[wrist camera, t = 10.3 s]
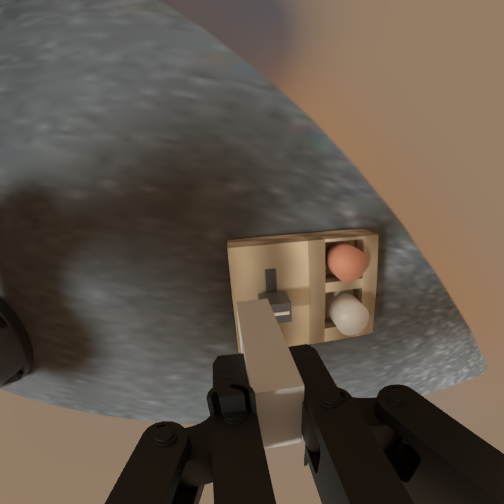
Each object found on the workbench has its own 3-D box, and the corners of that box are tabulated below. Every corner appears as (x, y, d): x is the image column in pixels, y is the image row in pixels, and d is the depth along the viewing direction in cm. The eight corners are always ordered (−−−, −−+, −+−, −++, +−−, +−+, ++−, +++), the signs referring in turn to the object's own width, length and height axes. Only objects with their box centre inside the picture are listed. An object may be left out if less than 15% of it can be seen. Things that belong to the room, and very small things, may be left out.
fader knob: (259, 311, 30) (262, 325, 27) (257, 293, 30) (261, 306, 27) (286, 308, 31) (292, 322, 28) (285, 290, 30) (291, 303, 27)
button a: (324, 274, 32) (333, 284, 29) (323, 242, 31) (333, 249, 28) (354, 270, 32) (365, 279, 29) (354, 239, 32) (366, 246, 28)
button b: (327, 324, 32) (336, 338, 29) (328, 295, 31) (338, 307, 28) (356, 319, 32) (367, 332, 29) (358, 290, 32) (370, 301, 28)
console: (237, 335, 36) (238, 353, 32) (227, 239, 33) (227, 248, 29) (359, 319, 37) (372, 333, 33) (363, 228, 34) (379, 235, 30)
